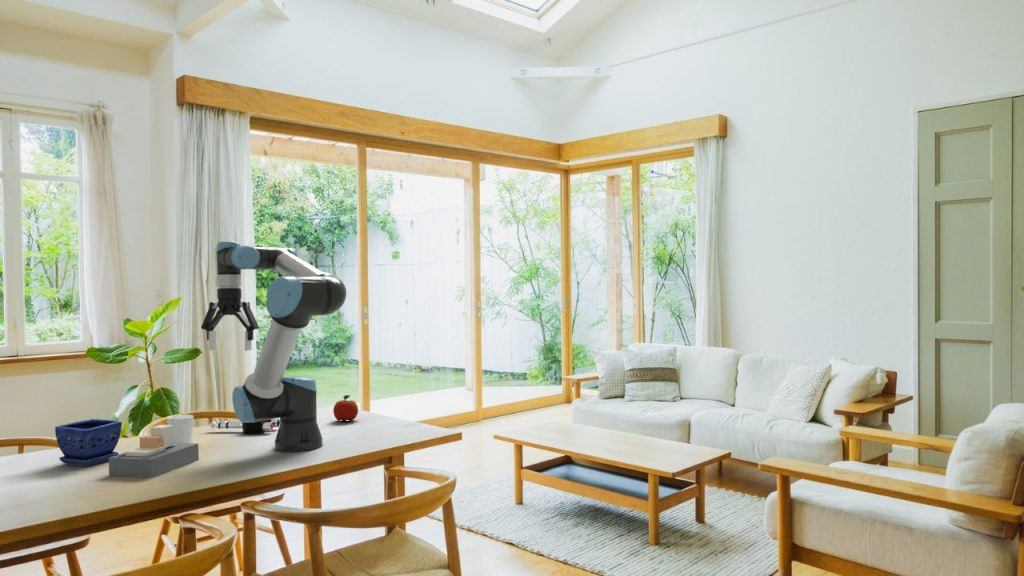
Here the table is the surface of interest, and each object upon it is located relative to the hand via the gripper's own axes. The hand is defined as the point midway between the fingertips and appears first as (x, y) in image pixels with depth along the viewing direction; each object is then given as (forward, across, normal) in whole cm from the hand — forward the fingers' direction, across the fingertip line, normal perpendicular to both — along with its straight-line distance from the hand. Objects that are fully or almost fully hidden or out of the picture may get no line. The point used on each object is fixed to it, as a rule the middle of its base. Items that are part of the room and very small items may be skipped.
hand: (230, 350), depth 233 cm
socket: (+32, +4, +31) cm, 45 cm away
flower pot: (+32, +29, +29) cm, 52 cm away
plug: (+31, +4, +28) cm, 42 cm away
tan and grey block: (+27, +4, +35) cm, 44 cm away
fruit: (+32, -21, -43) cm, 58 cm away
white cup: (+32, +15, +6) cm, 36 cm away
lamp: (+32, +9, -19) cm, 38 cm away
